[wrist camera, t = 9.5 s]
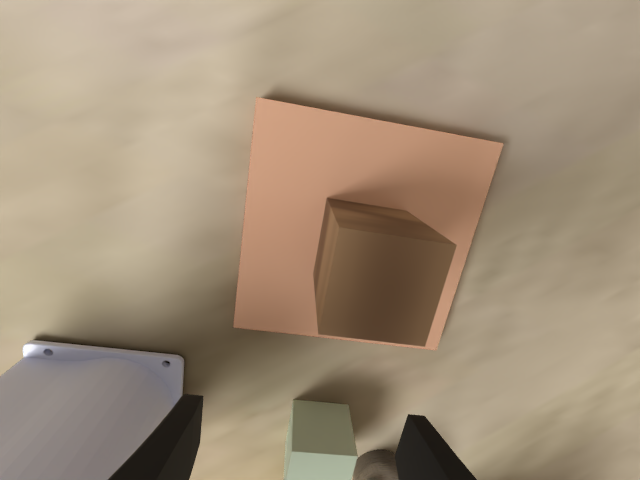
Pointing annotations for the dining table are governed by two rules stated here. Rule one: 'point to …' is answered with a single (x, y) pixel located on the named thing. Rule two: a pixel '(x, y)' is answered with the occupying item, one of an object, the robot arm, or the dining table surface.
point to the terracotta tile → (349, 185)
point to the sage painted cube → (319, 442)
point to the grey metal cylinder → (376, 466)
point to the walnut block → (378, 273)
